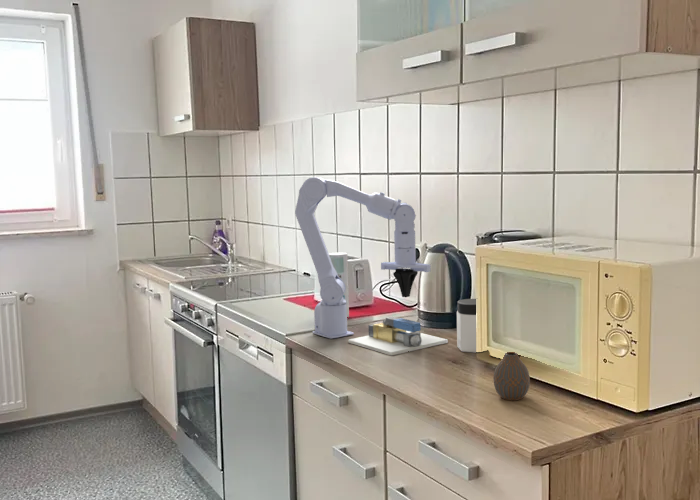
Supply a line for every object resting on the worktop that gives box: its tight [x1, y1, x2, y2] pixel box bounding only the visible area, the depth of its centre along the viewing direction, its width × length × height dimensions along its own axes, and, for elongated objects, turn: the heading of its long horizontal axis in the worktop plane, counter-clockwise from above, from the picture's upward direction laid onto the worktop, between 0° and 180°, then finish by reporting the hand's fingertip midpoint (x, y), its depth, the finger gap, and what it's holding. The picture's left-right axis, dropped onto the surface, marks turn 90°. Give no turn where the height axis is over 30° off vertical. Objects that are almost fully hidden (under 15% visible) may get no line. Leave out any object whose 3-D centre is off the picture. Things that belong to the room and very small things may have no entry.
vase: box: [493, 352, 531, 401], centre depth 135 cm, size 7×7×9 cm
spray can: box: [328, 252, 350, 318], centre depth 216 cm, size 6×6×20 cm
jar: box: [456, 298, 477, 354], centre depth 173 cm, size 9×8×12 cm
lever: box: [382, 316, 421, 332], centre depth 179 cm, size 13×3×2 cm, turn 35°
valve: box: [367, 322, 422, 347], centre depth 181 cm, size 18×5×4 cm, turn 36°
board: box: [347, 331, 449, 356], centre depth 182 cm, size 18×19×1 cm
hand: (406, 296), depth 191 cm, fingers closed
